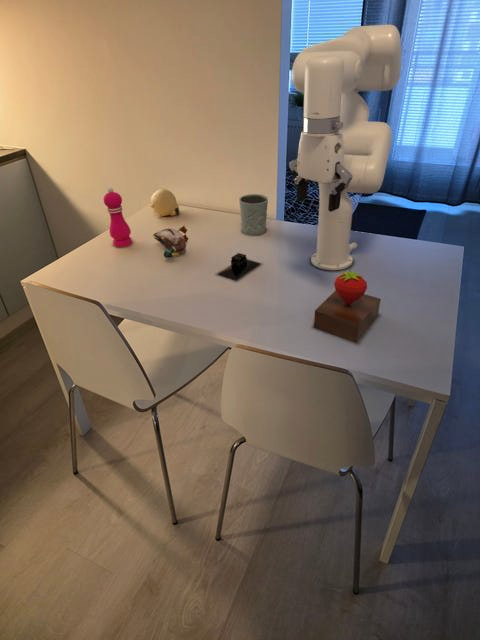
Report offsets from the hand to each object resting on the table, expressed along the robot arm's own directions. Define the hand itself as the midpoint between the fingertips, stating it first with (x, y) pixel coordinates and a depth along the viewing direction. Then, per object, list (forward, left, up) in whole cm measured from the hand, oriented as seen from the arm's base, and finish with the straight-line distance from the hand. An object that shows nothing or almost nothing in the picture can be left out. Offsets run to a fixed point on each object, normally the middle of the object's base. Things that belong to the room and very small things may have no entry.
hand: (317, 204), depth 96 cm
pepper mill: (+22, -72, -26) cm, 80 cm away
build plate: (+4, -27, -26) cm, 38 cm away
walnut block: (+2, +13, -26) cm, 29 cm away
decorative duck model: (+14, -53, -26) cm, 61 cm away
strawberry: (+2, +13, -21) cm, 25 cm away
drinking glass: (-19, -47, -26) cm, 57 cm away
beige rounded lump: (-4, -86, -26) cm, 90 cm away
